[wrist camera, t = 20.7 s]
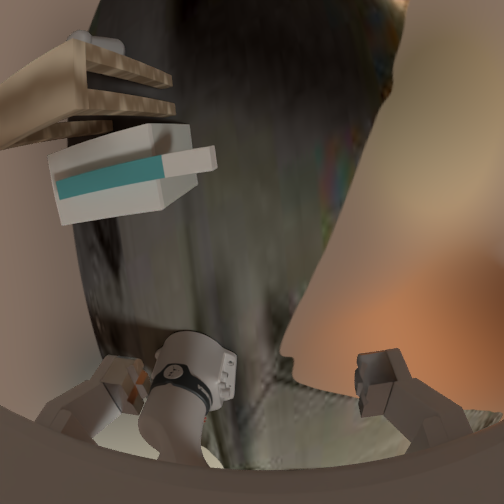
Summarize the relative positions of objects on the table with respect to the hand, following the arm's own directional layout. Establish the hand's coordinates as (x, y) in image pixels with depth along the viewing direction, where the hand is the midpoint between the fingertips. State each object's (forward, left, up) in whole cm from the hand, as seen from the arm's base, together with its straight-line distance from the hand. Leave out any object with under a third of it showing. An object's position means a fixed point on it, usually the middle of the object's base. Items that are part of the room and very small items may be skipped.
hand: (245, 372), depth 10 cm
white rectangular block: (+6, +20, -39) cm, 44 cm away
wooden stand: (+17, +21, -39) cm, 47 cm away
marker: (+6, +15, -23) cm, 28 cm away
